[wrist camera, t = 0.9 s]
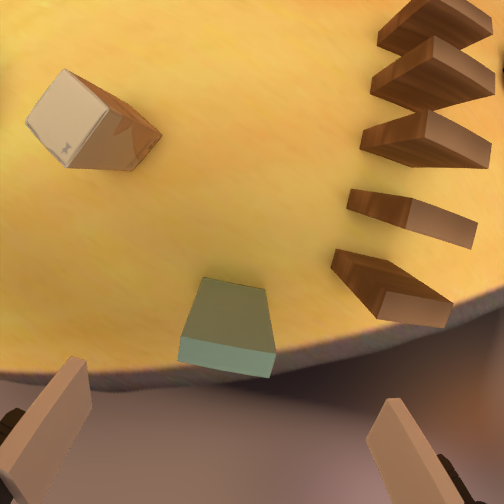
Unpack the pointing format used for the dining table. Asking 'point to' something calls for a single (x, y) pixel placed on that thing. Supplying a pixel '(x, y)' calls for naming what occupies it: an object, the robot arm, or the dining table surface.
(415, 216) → the tile
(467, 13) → the tile
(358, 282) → the tile
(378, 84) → the tile
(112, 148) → the box
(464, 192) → the dining table surface
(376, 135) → the tile
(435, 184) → the dining table surface
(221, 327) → the tile
